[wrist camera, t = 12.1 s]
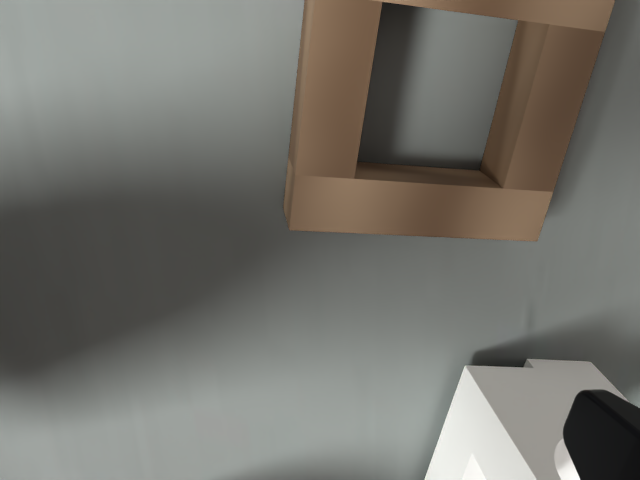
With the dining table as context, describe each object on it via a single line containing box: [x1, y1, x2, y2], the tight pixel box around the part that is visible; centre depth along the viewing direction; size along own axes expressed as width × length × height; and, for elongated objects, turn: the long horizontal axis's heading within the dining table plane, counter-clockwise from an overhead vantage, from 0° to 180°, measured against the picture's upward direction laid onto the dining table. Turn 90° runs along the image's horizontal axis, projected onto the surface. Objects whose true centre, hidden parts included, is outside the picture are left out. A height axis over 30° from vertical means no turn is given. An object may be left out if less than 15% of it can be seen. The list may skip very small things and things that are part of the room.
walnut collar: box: [283, 0, 615, 241], centre depth 19 cm, size 10×10×2 cm
